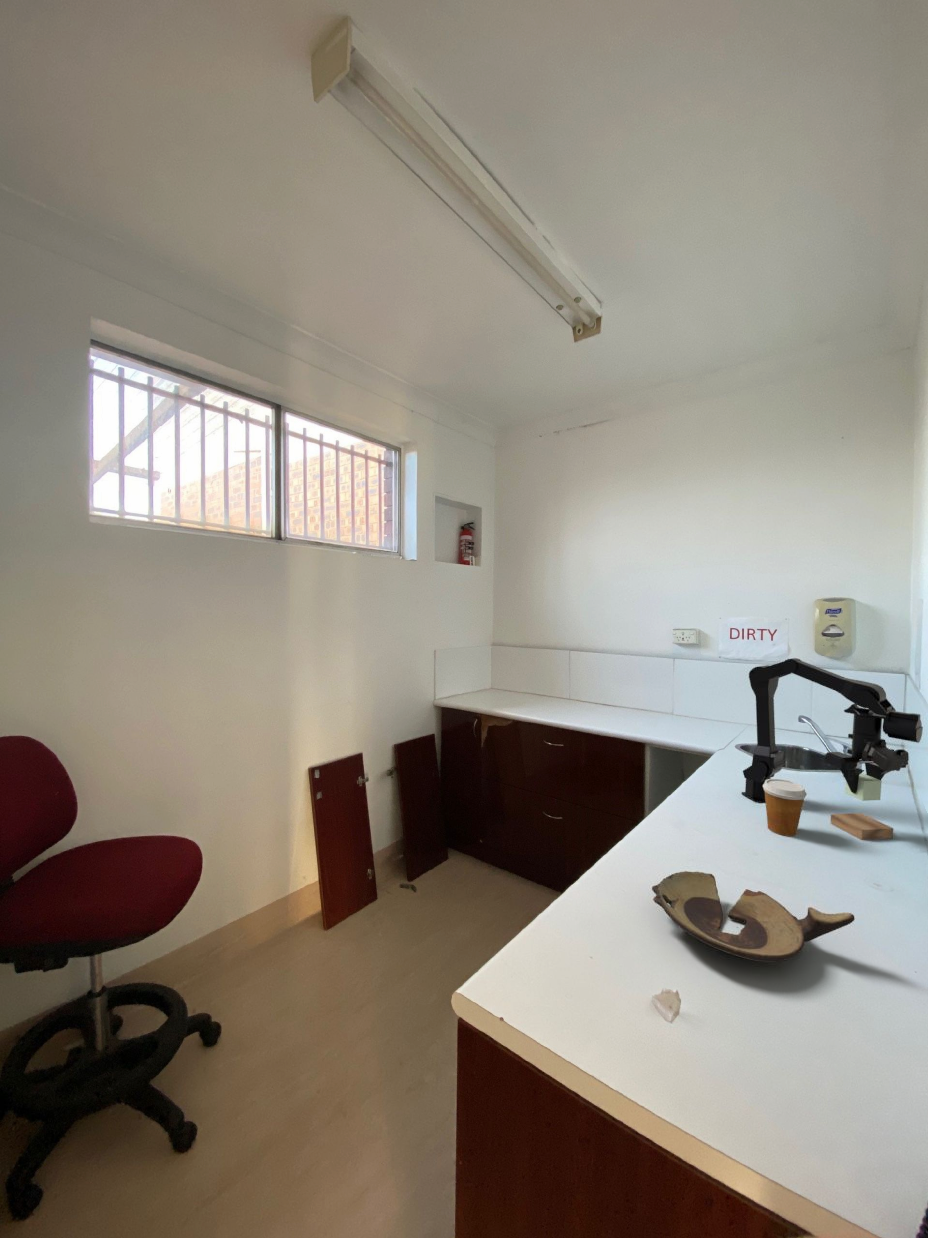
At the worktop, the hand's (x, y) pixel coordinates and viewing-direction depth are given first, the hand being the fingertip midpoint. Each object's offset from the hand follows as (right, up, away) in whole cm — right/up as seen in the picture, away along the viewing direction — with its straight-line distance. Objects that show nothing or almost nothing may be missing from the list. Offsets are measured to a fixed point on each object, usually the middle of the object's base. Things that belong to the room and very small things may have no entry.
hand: (862, 792), depth 131 cm
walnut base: (0, -10, 0) cm, 10 cm away
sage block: (0, -1, 0) cm, 1 cm away
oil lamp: (-55, -11, -43) cm, 70 cm away
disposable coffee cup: (-21, -10, -1) cm, 23 cm away
